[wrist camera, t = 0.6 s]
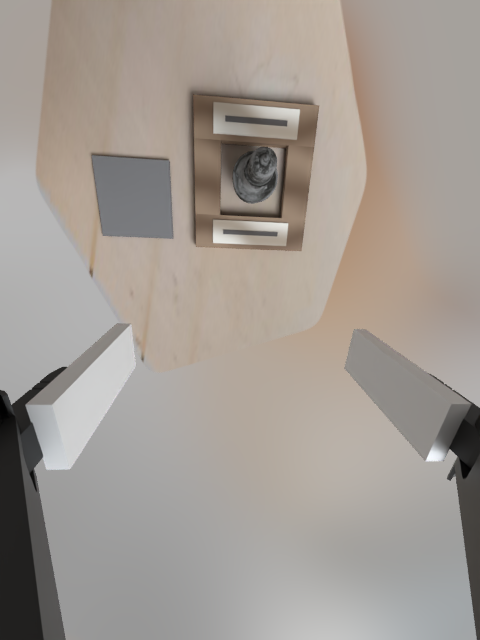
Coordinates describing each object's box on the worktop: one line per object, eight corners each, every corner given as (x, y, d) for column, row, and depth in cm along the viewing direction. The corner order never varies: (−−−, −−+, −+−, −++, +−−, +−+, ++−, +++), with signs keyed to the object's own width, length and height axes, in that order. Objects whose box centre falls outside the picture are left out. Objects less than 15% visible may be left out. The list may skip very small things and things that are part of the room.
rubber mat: (93, 156, 32) (91, 155, 31) (169, 161, 33) (168, 160, 32) (104, 235, 35) (102, 235, 35) (173, 238, 36) (172, 238, 35)
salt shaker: (225, 167, 33) (227, 133, 22) (265, 152, 33) (287, 109, 22) (239, 211, 35) (247, 200, 24) (277, 197, 35) (302, 179, 24)
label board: (194, 99, 30) (192, 93, 29) (315, 110, 32) (320, 104, 30) (196, 246, 36) (195, 246, 35) (298, 250, 38) (301, 251, 36)
